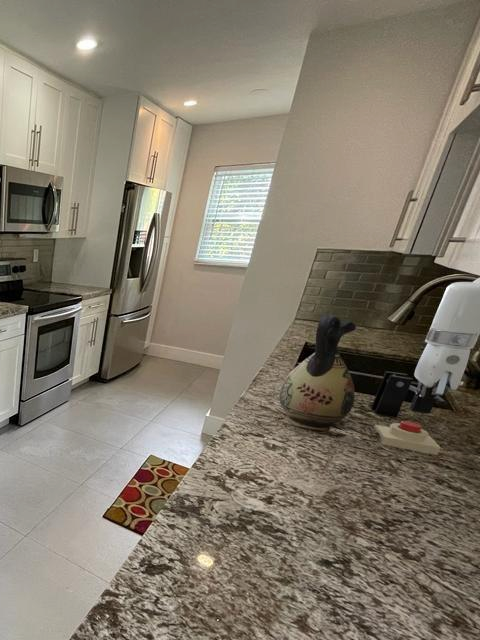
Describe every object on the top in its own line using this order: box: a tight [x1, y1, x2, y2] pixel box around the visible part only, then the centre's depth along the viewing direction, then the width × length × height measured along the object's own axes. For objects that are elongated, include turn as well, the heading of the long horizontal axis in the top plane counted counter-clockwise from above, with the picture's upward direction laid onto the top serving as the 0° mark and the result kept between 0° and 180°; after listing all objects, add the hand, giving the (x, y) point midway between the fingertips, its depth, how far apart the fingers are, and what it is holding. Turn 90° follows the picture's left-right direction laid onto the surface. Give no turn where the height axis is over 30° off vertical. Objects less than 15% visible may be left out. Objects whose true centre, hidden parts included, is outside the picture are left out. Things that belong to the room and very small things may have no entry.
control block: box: [373, 422, 442, 456], centre depth 102 cm, size 10×8×4 cm
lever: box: [387, 374, 447, 407], centre depth 112 cm, size 12×6×2 cm, turn 60°
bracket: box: [370, 371, 414, 418], centre depth 115 cm, size 12×10×13 cm
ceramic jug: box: [278, 315, 357, 433], centre depth 107 cm, size 17×15×30 cm
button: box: [399, 420, 423, 433], centre depth 101 cm, size 4×4×2 cm
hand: (419, 411), depth 100 cm, fingers closed
